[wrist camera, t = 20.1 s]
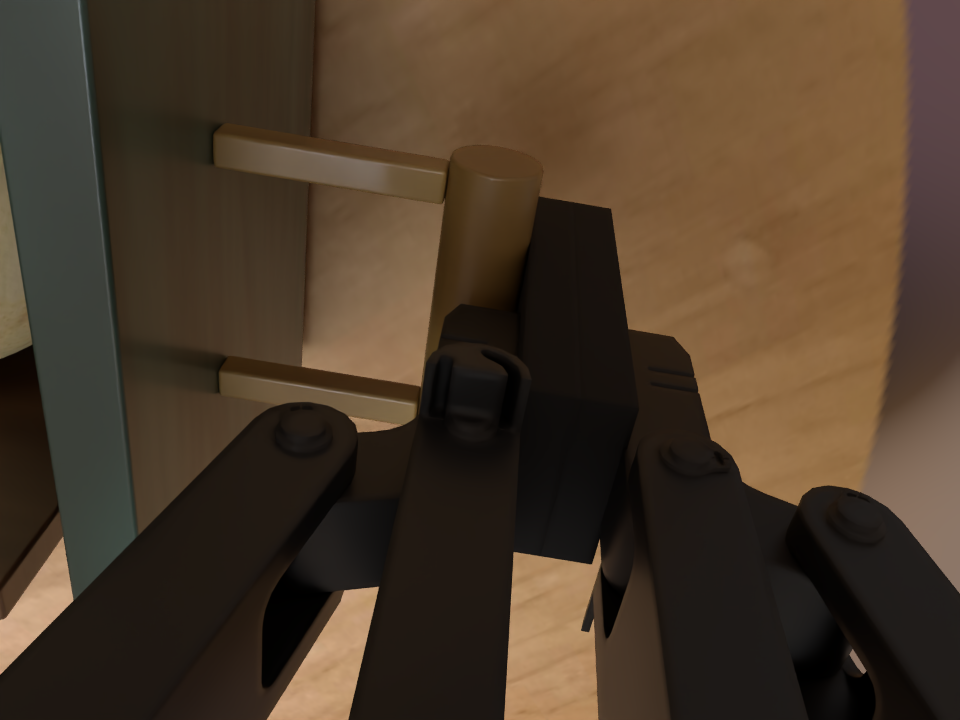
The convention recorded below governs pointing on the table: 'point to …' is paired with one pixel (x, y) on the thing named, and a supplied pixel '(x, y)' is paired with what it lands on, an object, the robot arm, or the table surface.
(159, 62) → the drawer
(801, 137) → the table surface
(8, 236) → the apple
